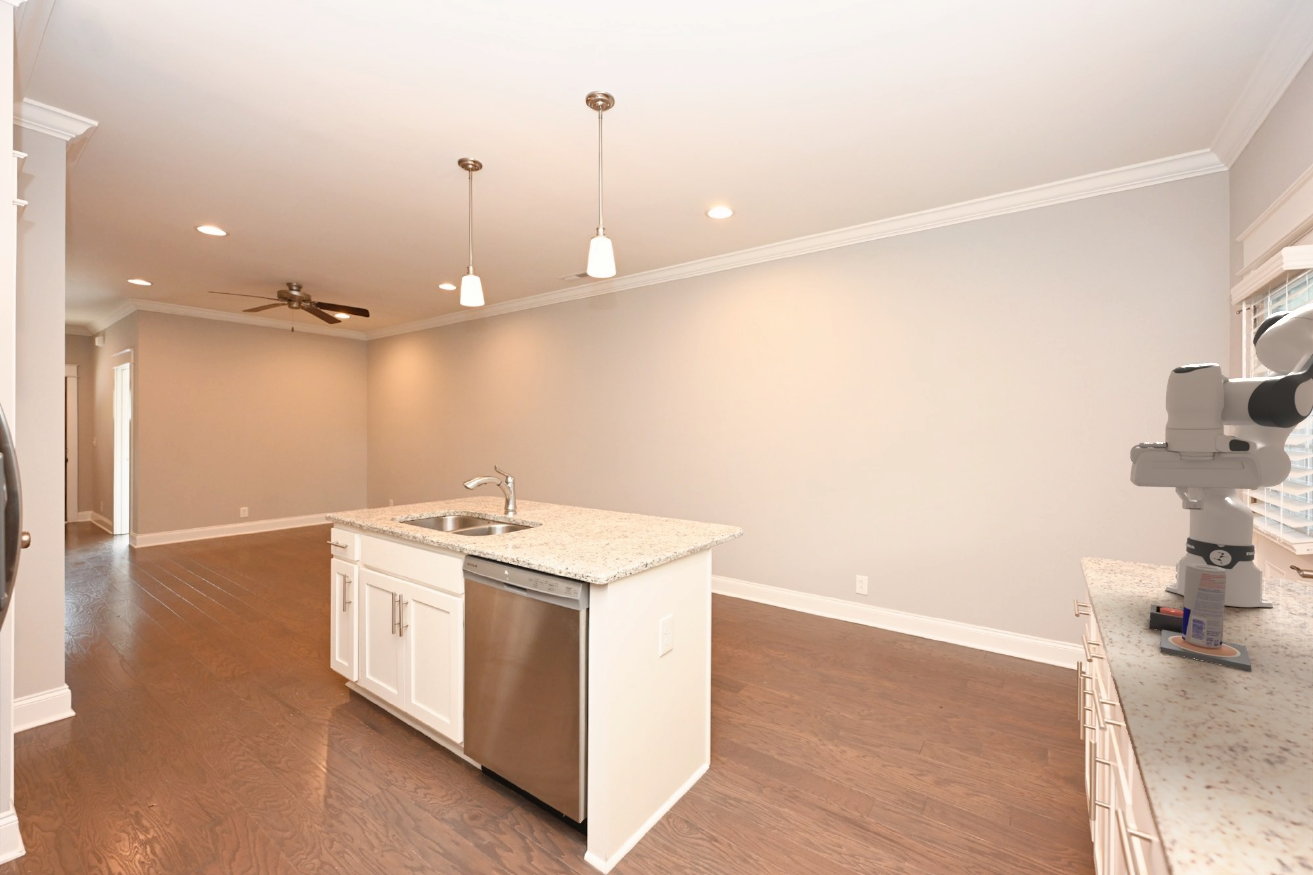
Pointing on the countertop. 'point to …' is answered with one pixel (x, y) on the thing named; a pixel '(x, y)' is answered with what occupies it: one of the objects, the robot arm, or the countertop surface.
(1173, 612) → the button
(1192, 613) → the beverage can
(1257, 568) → the robot arm
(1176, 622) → the button housing
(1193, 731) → the countertop surface
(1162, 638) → the picture board
